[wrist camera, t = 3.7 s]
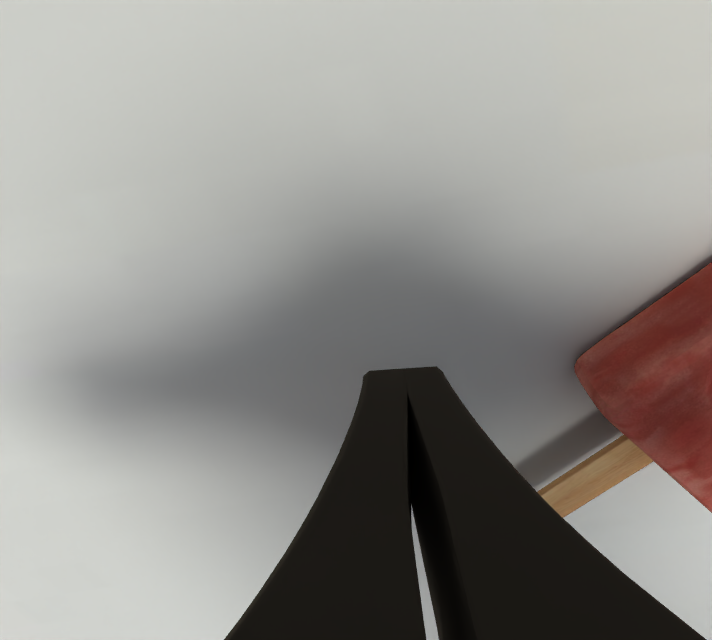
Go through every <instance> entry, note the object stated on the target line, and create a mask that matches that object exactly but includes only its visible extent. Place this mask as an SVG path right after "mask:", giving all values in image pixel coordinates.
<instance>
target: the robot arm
mask: <svg viewBox="0 0 712 640" xmlns="http://www.w3.org/2000/svg"><path fill="white" fill-rule="evenodd" d="M411 504H412V509H413V514H414V519H415V524H416V529H417V534H418V538H419V543H420V548H421V553H422V558H423V562H424V567H425V572H426V577H427V582H428V586H429V591H430V596H431V601H432V605H433V610H434V615H435V620H436V625H437V630H438V636H439V640H706V639H705V638H704V637H702V636H701V635H700V634H699V633H697V632H696V631H695V630H694V629H692V628H691V627H690V626H689V625H687V624H686V623H685V622H684V621H682V620H681V619H680V618H679V617H677V616H676V615H675V614H674V613H672V612H671V611H670V610H669V609H667V608H666V607H665V606H664V605H662V604H661V603H660V602H659V601H657V600H656V599H655V598H654V597H652V596H651V595H650V594H649V593H647V592H646V591H645V590H644V589H643V588H641V587H640V586H639V585H638V584H636V583H635V582H634V581H633V580H631V579H630V578H629V577H628V576H626V575H625V574H624V573H623V572H622V571H620V570H619V569H618V568H617V567H616V566H615V565H614V564H613V563H611V562H610V561H609V560H608V559H607V558H606V557H605V556H604V555H602V554H601V553H600V552H599V551H598V550H597V549H596V548H595V547H593V546H592V545H591V544H590V543H589V542H588V541H587V540H586V539H585V538H583V537H582V536H581V535H580V534H579V533H578V532H577V531H576V530H575V529H574V528H573V527H572V526H571V525H570V524H569V523H568V522H567V521H565V520H564V519H563V518H562V517H561V516H560V515H559V514H558V513H557V512H556V511H555V510H554V509H553V508H552V507H551V506H550V505H549V504H548V503H547V502H546V501H545V500H544V499H543V498H542V497H541V496H540V495H539V494H538V493H537V492H536V490H535V489H534V488H533V487H532V486H531V485H530V484H529V483H528V482H527V481H526V480H525V479H524V477H523V476H522V475H521V474H520V473H519V472H518V471H517V470H516V469H515V468H514V467H513V465H512V464H511V463H510V462H509V461H508V460H507V459H506V457H505V456H504V455H503V454H502V453H501V452H500V450H499V449H498V448H497V447H496V445H495V444H494V443H493V442H492V441H491V439H490V438H489V437H488V436H487V434H486V433H485V432H484V431H483V429H482V428H481V427H480V426H479V424H478V423H477V422H476V421H475V419H474V418H473V417H472V415H471V414H470V413H469V411H468V410H467V408H466V407H465V406H464V404H463V403H462V402H461V400H460V399H459V397H458V396H457V394H456V393H455V391H454V390H453V388H452V387H451V385H450V384H449V382H448V380H447V379H446V377H445V375H444V374H443V372H442V371H441V370H440V369H439V368H438V367H421V368H406V369H391V370H376V371H369V372H368V373H367V374H365V375H364V376H363V384H362V389H361V393H360V397H359V401H358V404H357V407H356V410H355V413H354V416H353V419H352V422H351V425H350V427H349V429H348V432H347V434H346V437H345V439H344V442H343V444H342V447H341V449H340V452H339V454H338V456H337V458H336V461H335V463H334V465H333V467H332V469H331V471H330V473H329V475H328V477H327V479H326V481H325V483H324V485H323V487H322V489H321V491H320V493H319V495H318V497H317V499H316V501H315V503H314V504H313V506H312V508H311V510H310V512H309V513H308V515H307V517H306V519H305V521H304V522H303V524H302V526H301V527H300V529H299V531H298V532H297V534H296V536H295V537H294V539H293V541H292V542H291V544H290V546H289V547H288V549H287V551H286V552H285V554H284V555H283V557H282V558H281V560H280V561H279V563H278V564H277V566H276V567H275V569H274V570H273V572H272V573H271V575H270V576H269V578H268V579H267V581H266V582H265V584H264V585H263V587H262V588H261V590H260V591H259V593H258V594H257V596H256V597H255V599H254V600H253V601H252V603H251V604H250V606H249V607H248V608H247V610H246V611H245V613H244V614H243V615H242V617H241V618H240V620H239V621H238V622H237V624H236V625H235V626H234V628H233V629H232V630H231V631H230V633H229V634H228V635H227V637H226V638H225V639H224V640H426V634H425V627H424V620H423V612H422V605H421V598H420V590H419V583H418V575H417V568H416V560H415V553H414V545H413V537H412V529H411Z"/></svg>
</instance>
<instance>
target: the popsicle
mask: <svg viewBox="0 0 712 640" xmlns="http://www.w3.org/2000/svg"><path fill="white" fill-rule="evenodd" d="M574 368H575V374H576V376H577V377H578V379H579V381H580V383H581V384H582V386H583V387H584V389H585V391H586V392H587V394H588V395H589V397H590V398H591V400H592V401H593V402H594V404H595V405H596V407H597V408H598V409H599V411H600V412H601V413H602V414H603V416H604V417H605V418H606V419H607V420H608V421H609V422H610V423H612V424H613V425H614V426H615V427H616V428H617V429H618V430H619V431H621V432H622V433H623V434H624V435H623V436H621V437H619V438H618V439H616V440H615V441H613V442H612V443H610V444H609V445H607V446H606V447H604V448H603V449H601V450H600V451H598V452H597V453H595V454H594V455H592V456H591V457H589V458H588V459H586V460H585V461H583V462H582V463H580V464H579V465H577V466H576V467H574V468H573V469H571V470H570V471H568V472H566V473H565V474H563V475H562V476H560V477H559V478H557V479H556V480H554V481H553V482H551V483H550V484H548V485H547V486H545V487H544V488H542V489H541V490H539V491H538V492H537V493H538V494H539V495H540V496H541V497H542V498H543V499H544V500H545V501H546V502H547V503H548V504H549V505H550V506H551V507H552V508H553V509H554V510H555V511H556V512H557V513H558V514H559V515H560V516H561V517H562V518H563V517H565V516H567V515H568V514H570V513H571V512H573V511H575V510H576V509H578V508H579V507H581V506H583V505H584V504H586V503H587V502H589V501H591V500H592V499H594V498H595V497H597V496H599V495H600V494H602V493H603V492H605V491H607V490H608V489H610V488H611V487H613V486H615V485H616V484H618V483H619V482H621V481H623V480H624V479H626V478H627V477H629V476H631V475H632V474H634V473H635V472H637V471H639V470H640V469H642V468H644V467H645V466H647V465H648V464H650V463H652V462H653V461H654V462H655V463H656V464H658V465H659V466H660V467H661V468H662V469H663V470H664V471H665V472H667V473H668V474H669V475H670V476H671V477H672V478H673V479H674V480H676V481H677V482H678V483H679V484H680V485H681V486H682V487H683V488H685V489H686V490H687V491H688V492H689V493H690V494H691V495H692V496H694V497H695V498H696V499H697V500H698V501H699V502H700V503H701V504H703V505H704V506H705V507H706V508H707V509H708V510H709V511H710V512H712V262H711V263H710V264H708V265H707V266H706V267H704V268H703V269H701V270H700V271H699V272H697V273H696V274H694V275H693V276H692V277H690V278H689V279H687V280H686V281H685V282H683V283H682V284H680V285H679V286H678V287H676V288H675V289H673V290H672V291H670V292H669V293H668V294H666V295H665V296H663V297H662V298H660V299H659V300H657V301H656V302H655V303H653V304H652V305H650V306H649V307H648V308H646V309H645V310H643V311H642V312H641V313H639V314H638V315H636V316H635V317H634V318H632V319H631V320H629V321H628V322H626V323H625V324H624V325H622V326H621V327H619V328H618V329H616V330H615V331H613V332H612V333H610V334H609V335H608V336H606V337H605V338H603V339H602V340H601V341H599V342H598V343H597V344H595V345H594V346H593V347H591V348H590V349H589V350H587V351H586V352H585V353H584V354H582V355H581V356H580V357H579V358H578V360H577V361H576V364H575V366H574Z"/></svg>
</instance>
